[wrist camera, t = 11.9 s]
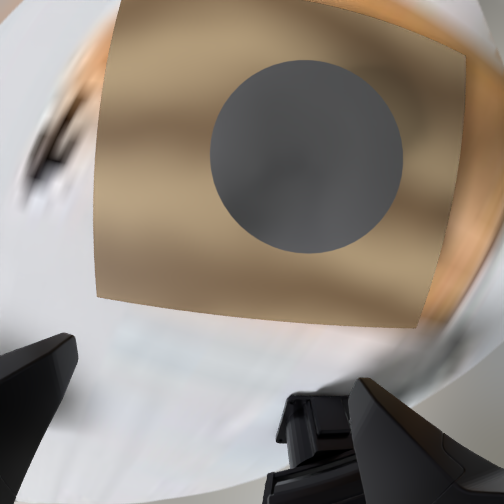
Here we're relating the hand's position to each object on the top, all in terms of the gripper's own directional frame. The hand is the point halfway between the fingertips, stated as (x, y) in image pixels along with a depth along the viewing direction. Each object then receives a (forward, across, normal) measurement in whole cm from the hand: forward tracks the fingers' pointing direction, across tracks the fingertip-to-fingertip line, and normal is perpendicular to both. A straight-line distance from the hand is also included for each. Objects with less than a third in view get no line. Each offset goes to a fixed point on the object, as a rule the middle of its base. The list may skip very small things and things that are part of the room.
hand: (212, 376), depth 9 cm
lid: (+8, -2, -6) cm, 10 cm away
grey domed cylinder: (+7, -2, -7) cm, 10 cm away
